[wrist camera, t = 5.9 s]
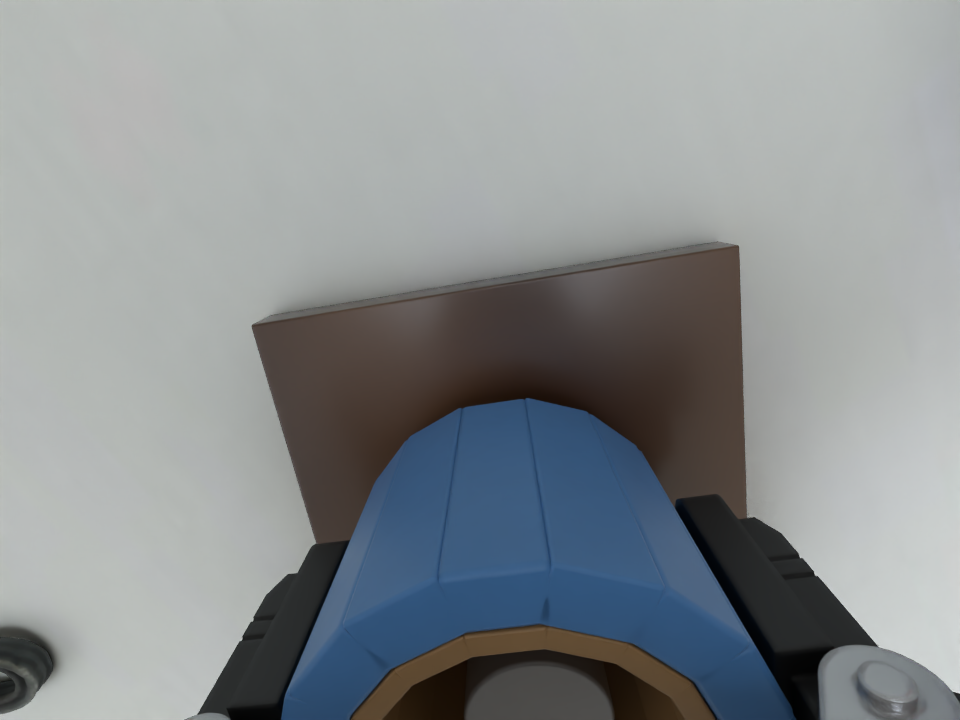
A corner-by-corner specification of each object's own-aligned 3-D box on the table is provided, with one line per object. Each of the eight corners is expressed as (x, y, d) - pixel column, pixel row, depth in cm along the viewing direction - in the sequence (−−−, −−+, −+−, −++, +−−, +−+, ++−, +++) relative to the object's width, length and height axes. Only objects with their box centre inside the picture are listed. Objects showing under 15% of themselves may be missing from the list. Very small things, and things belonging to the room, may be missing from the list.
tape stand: (369, 660, 15) (280, 977, 9) (269, 315, 12) (38, 431, 6) (734, 621, 14) (912, 939, 8) (719, 240, 11) (978, 289, 5)
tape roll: (401, 671, 12) (343, 965, 7) (336, 423, 10) (206, 606, 6) (677, 642, 12) (798, 932, 7) (657, 377, 10) (802, 532, 5)
